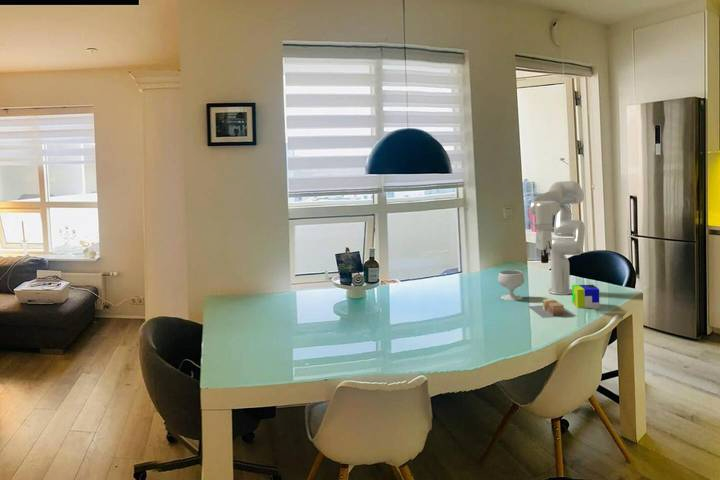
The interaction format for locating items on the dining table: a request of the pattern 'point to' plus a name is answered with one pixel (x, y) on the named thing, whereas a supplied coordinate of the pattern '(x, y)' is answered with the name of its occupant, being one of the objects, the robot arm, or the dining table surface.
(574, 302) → the puzzle toy
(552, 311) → the walnut block
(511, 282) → the chalice
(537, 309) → the rubber mat
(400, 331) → the dining table surface
